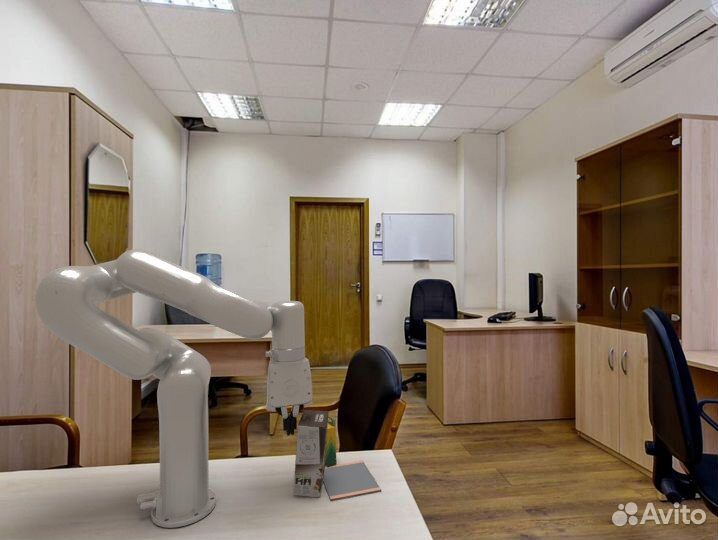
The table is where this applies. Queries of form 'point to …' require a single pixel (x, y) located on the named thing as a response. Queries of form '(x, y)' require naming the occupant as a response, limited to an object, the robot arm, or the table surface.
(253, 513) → the table surface
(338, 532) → the table surface
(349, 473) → the felt mat
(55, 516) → the table surface
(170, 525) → the robot arm
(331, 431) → the crayon box
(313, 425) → the coffee box
